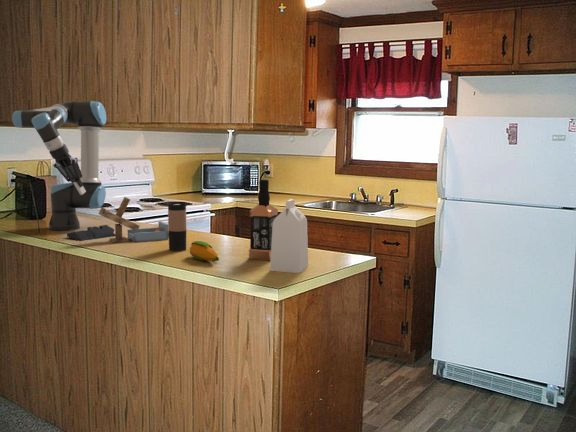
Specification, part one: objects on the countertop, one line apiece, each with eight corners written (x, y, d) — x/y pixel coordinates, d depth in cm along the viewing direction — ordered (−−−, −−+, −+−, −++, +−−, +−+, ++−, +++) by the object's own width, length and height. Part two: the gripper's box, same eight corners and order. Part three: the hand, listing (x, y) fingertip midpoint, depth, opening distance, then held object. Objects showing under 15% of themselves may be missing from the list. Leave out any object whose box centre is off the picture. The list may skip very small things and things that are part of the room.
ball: (157, 228, 294) (158, 235, 295) (152, 230, 292) (153, 237, 292) (162, 228, 293) (163, 235, 293) (157, 230, 290) (158, 237, 290)
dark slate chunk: (62, 238, 292) (61, 228, 291) (102, 232, 308) (102, 223, 308) (79, 242, 282) (79, 232, 281) (120, 236, 299) (120, 226, 298)
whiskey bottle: (271, 261, 245) (272, 180, 240) (248, 259, 248) (248, 180, 243) (278, 255, 255) (279, 178, 250) (256, 254, 258) (256, 178, 253)
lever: (101, 215, 275) (113, 191, 276) (97, 213, 283) (109, 189, 284) (137, 231, 284) (148, 208, 285) (132, 228, 292) (143, 205, 293)
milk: (279, 263, 241) (280, 197, 237) (308, 266, 237) (309, 199, 234) (269, 270, 229) (270, 201, 225) (299, 273, 226) (300, 202, 222)
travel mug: (166, 248, 267) (166, 203, 264) (184, 247, 270) (183, 202, 267) (170, 252, 260) (170, 205, 257) (188, 250, 263) (188, 204, 260)
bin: (134, 242, 281) (133, 227, 280) (127, 237, 292) (127, 223, 291) (168, 239, 289) (168, 224, 288) (160, 235, 299) (160, 221, 298)
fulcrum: (113, 242, 279) (112, 226, 278) (109, 240, 285) (109, 224, 284) (128, 241, 283) (128, 225, 282) (124, 239, 289) (124, 223, 288)
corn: (201, 236, 254) (224, 244, 238) (202, 254, 256) (226, 263, 240) (184, 239, 250) (207, 248, 234) (186, 258, 252) (209, 267, 235)
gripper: (40, 153, 270) (68, 199, 280) (62, 148, 264) (88, 195, 274) (51, 146, 275) (77, 191, 286) (72, 140, 269) (98, 186, 280)
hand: (83, 193), depth 280 cm, fingers closed
